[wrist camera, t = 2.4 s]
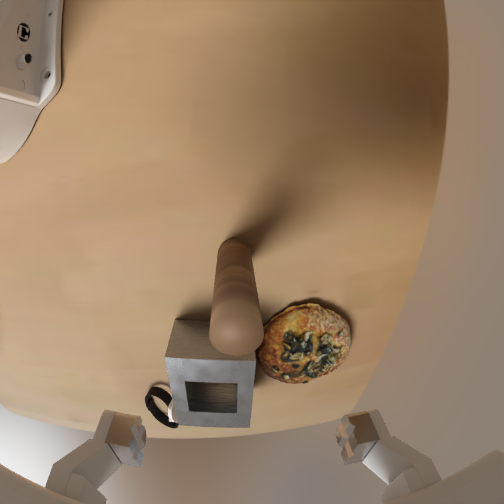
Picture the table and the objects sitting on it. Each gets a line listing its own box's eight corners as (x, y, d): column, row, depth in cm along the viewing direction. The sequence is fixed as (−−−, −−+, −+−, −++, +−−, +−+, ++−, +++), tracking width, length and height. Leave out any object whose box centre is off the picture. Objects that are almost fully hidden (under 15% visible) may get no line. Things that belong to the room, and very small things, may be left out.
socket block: (175, 319, 29) (164, 357, 23) (251, 321, 29) (256, 360, 24) (183, 388, 33) (178, 424, 27) (246, 390, 33) (249, 427, 28)
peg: (218, 238, 26) (208, 312, 15) (251, 239, 26) (265, 313, 15) (217, 268, 27) (209, 355, 16) (249, 269, 27) (261, 355, 16)
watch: (189, 416, 35) (187, 436, 32) (159, 416, 35) (155, 435, 32) (172, 382, 32) (168, 403, 29) (139, 383, 32) (133, 403, 29)
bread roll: (250, 377, 32) (255, 404, 28) (257, 294, 30) (264, 315, 25) (335, 371, 34) (350, 395, 29) (353, 293, 31) (373, 311, 26)
